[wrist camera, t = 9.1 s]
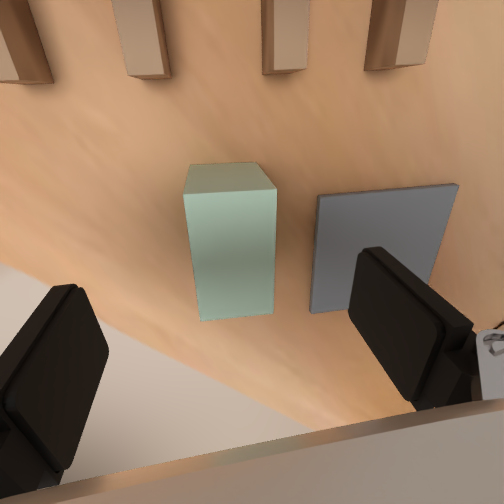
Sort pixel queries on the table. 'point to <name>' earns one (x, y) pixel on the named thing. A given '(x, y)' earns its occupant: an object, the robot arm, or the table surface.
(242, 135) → the table surface
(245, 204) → the block
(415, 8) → the rack
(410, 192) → the pad
